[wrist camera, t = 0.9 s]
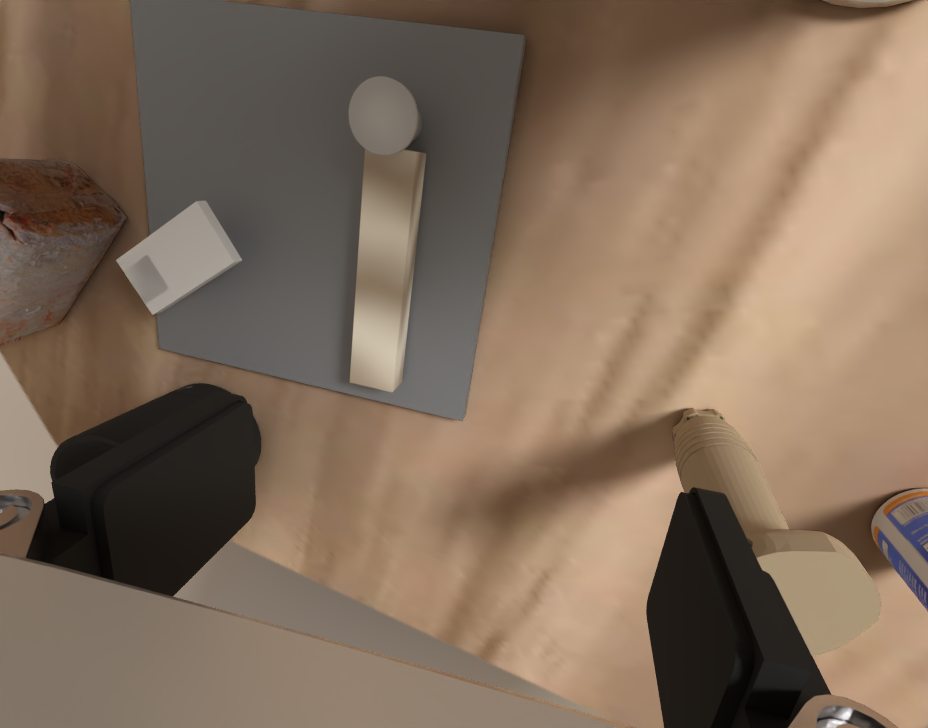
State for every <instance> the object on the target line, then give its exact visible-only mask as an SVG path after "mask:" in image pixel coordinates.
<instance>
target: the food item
mask: <svg viewBox="0 0 928 728" xmlns="http://www.w3.org/2000/svg"><path fill="white" fill-rule="evenodd" d="M126 219H127V217H126V216H125V215H124V213H123V212H122V211H121V210H120V209H119V208H118V207H117V204H116V203H115V201H114V200H113V199H112V198H110V197H109V196H108V195H107V194H105V193H104V192H103V191H102V190H101V189H100V188H99V187H98V186H97V185H96V184H95V183H94V182H93V181H92V180H91V179H90V178H89V177H88V176H87V175H86V174H85V173H84V172H83V171H82V170H81V169H80V168H78V167H77V166H76V165H74V164H73V163H70V162H66V161H62V160H31V159H0V345H3V344H7V343H8V342H9V341H10V340H15V342H16V341H20V340H21V337H22V336H26V335H29V334H32V333H34V332H37V331H40V330H43V329H46V328H49V327H52V326H54V325H57V324H60V323H61V322H62V320H63V319H64V317H65V315H66V314H67V312H68V311H69V309H70V308H71V306H72V305H73V303H74V302H75V300H76V297H77V296H78V294H79V293H80V291H81V290H82V288H83V287H84V286H85V284H86V283H87V281H88V279H89V278H90V276H91V275H92V273H93V272H94V270H95V268H96V267H97V265H98V264H99V262H100V261H101V259H102V258H103V256H104V255H105V253H106V252H107V249H108V248H109V246H110V244H111V243H112V242H113V240H114V237H115V236H116V235H117V233H118V232H119V230H120V229H121V227H122V226H123V223H124V221H125V220H126Z"/></svg>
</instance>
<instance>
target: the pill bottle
mask: <svg viewBox="0 0 928 728" xmlns="http://www.w3.org/2000/svg"><path fill="white" fill-rule="evenodd" d="M871 532H872V536H873V539H874V541H875V543H876V545H877V546H878V548H879V550H880V551H881V552H882V553H883V555H884V556H885V557H886V558H887V560H888V561H889V562H890V564H891V565H892V566H893V567H894V569H895V570H896V571H897V572H898V574H899V575H900V576H901V578H902V579H903V580H904V581H905V583H906V584H907V585H908V586H909V588H910V589H911V590H912V592H913V593H914V594H915V595H916V597H917V598H918V599H919V601H920V602H921V603H922V604H923V606H924V607H925V608H926V609H927V611H928V488H922V489H914V490H909V491H906V492H903V493H900V494H898V495H896V496H894V497H892V498H890V499H889V500H888V501H886V502H885V503H884V504H883V505H882V506H881V507H880V508H879V509H878V510H877V512H876V513H875V515H874V517H873V520H872V524H871Z"/></svg>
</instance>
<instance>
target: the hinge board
mask: <svg viewBox="0 0 928 728" xmlns="http://www.w3.org/2000/svg"><path fill="white" fill-rule="evenodd" d="M130 7H131V19H132V31H133V43H134V55H135V67H136V78H137V90H138V102H139V114H140V126H141V138H142V149H143V161H144V173H145V185H146V197H147V209H148V221H149V232H150V236H148V237H147V238H146V239H144V240H143V241H141V242H140V243H139V244H137V245H136V246H135V247H133V248H132V249H131V250H129V251H128V252H126V253H125V254H124V255H122V256H121V257H120V258H118V259H117V260H116V261H117V263H118V264H119V266H120V267H121V269H122V270H123V272H124V273H125V275H126V276H127V278H128V279H129V281H130V282H131V284H132V285H133V287H134V288H135V290H136V291H137V293H138V294H139V296H140V297H141V299H142V300H143V302H144V303H145V305H146V306H147V308H148V309H149V311H150V312H151V314H152V315H154V314H156V315H157V327H158V339H159V349H163V350H167V351H172V352H176V353H180V354H184V355H188V356H192V357H197V358H201V359H205V360H209V361H213V362H217V363H222V364H226V365H230V366H234V367H238V368H242V369H247V370H251V371H255V372H259V373H263V374H267V375H271V376H276V377H280V378H284V379H288V380H292V381H296V382H301V383H305V384H309V385H313V386H317V387H321V388H326V389H330V390H334V391H338V392H342V393H346V394H351V395H355V396H359V397H363V398H367V399H371V400H376V401H380V402H384V403H388V404H392V405H396V406H400V407H405V408H409V409H413V410H417V411H421V412H425V413H430V414H434V415H438V416H442V417H446V418H450V419H455V420H459V421H463V419H464V417H465V415H466V408H467V402H468V396H469V390H470V384H471V378H472V372H473V365H474V359H475V353H476V347H477V341H478V335H479V329H480V323H481V316H482V310H483V304H484V298H485V292H486V286H487V280H488V273H489V267H490V261H491V255H492V249H493V243H494V237H495V230H496V224H497V218H498V212H499V206H500V200H501V194H502V187H503V181H504V175H505V169H506V163H507V157H508V151H509V145H510V138H511V132H512V126H513V120H514V114H515V108H516V102H517V95H518V89H519V83H520V77H521V71H522V65H523V59H524V52H525V46H526V40H527V39H526V37H525V35H521V34H512V33H503V32H494V31H485V30H477V29H468V28H459V27H450V26H441V25H432V24H423V23H415V22H406V21H397V20H388V19H379V18H370V17H362V16H353V15H344V14H335V13H326V12H317V11H308V10H300V9H291V8H282V7H273V6H264V5H255V4H246V3H238V2H229V1H220V0H130ZM365 149H366V150H368V151H370V152H372V153H375V154H381V155H392V154H396V153H399V152H401V151H403V150H409V151H415V152H422V153H426V162H425V172H424V181H423V190H422V199H421V209H420V218H419V227H418V237H417V246H416V255H415V264H414V274H413V283H412V292H411V302H410V311H409V320H408V329H407V339H406V348H405V357H404V367H403V376H402V383H401V384H400V385H399V386H398V387H397V388H396V389H395V390H394V391H393V392H388V391H384V390H380V389H376V388H372V387H367V386H363V385H359V384H355V383H350V370H351V355H352V339H353V324H354V309H355V294H356V279H357V264H358V248H359V233H360V218H361V203H362V188H363V172H364V157H365Z"/></svg>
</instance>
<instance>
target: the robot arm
mask: <svg viewBox="0 0 928 728" xmlns="http://www.w3.org/2000/svg"><path fill="white" fill-rule="evenodd" d="M823 1H825V2H828V3H830V4H835V5H842V6H848V7H855V8H869V7H886V6H892V5H896V4H900V3H904V2H908V1H913V0H823ZM52 488H53V493H54V499H52V500H51V501H49V502H47V503H46V504H44V499H43V498H42V497H41V496H40V495H39V494H37V493H35V492H32V491H28V490H5V491H0V728H635V727H632V726H629V725H626V724H623V723H620V722H617V721H613V720H610V719H606V718H602V717H599V716H595V715H592V714H588V713H585V712H581V711H578V710H575V709H571V708H568V707H564V706H561V705H558V704H554V703H551V702H548V701H544V700H540V699H537V698H534V697H530V696H527V695H523V694H519V693H516V692H512V691H509V690H506V689H502V688H498V687H495V686H491V685H488V684H484V683H481V682H477V681H474V680H470V679H467V678H463V677H459V676H456V675H453V674H449V673H446V672H442V671H439V670H435V669H432V668H428V667H425V666H421V665H418V664H414V663H411V662H407V661H403V660H400V659H397V658H393V657H390V656H386V655H382V654H379V653H375V652H372V651H368V650H364V649H361V648H357V647H354V646H350V645H347V644H343V643H339V642H336V641H332V640H328V639H325V638H321V637H318V636H314V635H311V634H307V633H303V632H300V631H296V630H293V629H289V628H285V627H281V626H278V625H274V624H271V623H267V622H264V621H260V620H256V619H252V618H249V617H246V616H242V615H239V614H235V613H231V612H228V611H224V610H220V609H216V608H213V607H209V606H205V605H202V604H198V603H194V602H191V601H187V600H183V599H180V598H176V597H173V596H174V595H175V594H176V593H177V592H178V591H179V590H180V589H181V588H182V587H183V586H184V585H185V584H186V583H187V582H188V581H189V580H190V579H191V578H192V577H193V576H194V575H195V574H196V573H197V572H198V571H199V570H200V569H201V568H202V567H203V566H204V565H205V564H206V563H207V562H208V561H209V560H210V559H211V558H212V557H213V556H214V555H215V554H216V553H217V552H218V551H219V550H220V549H221V548H222V547H223V546H224V545H225V544H226V543H227V542H228V541H229V540H230V539H231V538H232V537H233V536H234V535H235V534H236V533H237V532H238V531H239V530H240V529H241V528H242V527H243V526H244V525H245V524H246V523H247V522H248V521H249V520H250V518H251V517H252V515H253V513H254V510H255V506H256V496H255V468H254V441H253V413H252V407H251V405H250V404H247V401H246V399H245V398H244V397H243V396H239V395H235V394H230V393H225V392H219V391H218V392H215V393H213V394H211V395H209V396H207V397H205V398H204V399H202V400H200V401H198V402H196V403H195V404H193V405H191V406H189V407H187V408H185V409H184V410H182V411H180V412H178V413H176V414H175V415H173V416H171V417H169V418H167V419H166V420H164V421H162V422H160V423H158V424H156V425H155V426H153V427H151V428H149V429H147V430H146V431H144V432H142V433H140V434H138V435H137V436H135V437H133V438H131V439H129V440H127V441H126V442H124V443H122V444H120V445H118V446H117V447H115V448H113V449H111V450H109V451H108V452H106V453H104V454H102V455H100V456H98V457H97V458H95V459H93V460H91V461H89V462H88V463H86V464H84V465H82V466H80V467H79V468H77V469H75V470H73V471H71V472H69V473H68V474H66V475H64V476H62V477H60V478H59V479H57V480H55V481H53V482H52ZM647 622H648V628H649V634H650V641H651V647H652V653H653V660H654V666H655V672H656V678H657V685H658V691H659V697H660V703H661V710H662V716H663V722H664V728H898V727H897V726H895V725H894V724H893V723H892V722H890V721H889V720H888V719H887V718H885V717H884V716H882V715H880V714H879V713H877V712H875V711H874V710H872V709H870V708H869V707H867V706H865V705H863V704H860V703H858V702H855V701H853V700H850V699H848V698H845V697H840V696H834V695H831V693H830V691H829V689H828V687H827V685H826V683H825V681H824V679H823V677H822V675H821V673H820V671H819V669H818V667H817V665H816V663H815V661H814V659H813V657H812V655H811V653H810V651H809V649H808V647H807V645H806V643H805V641H804V639H803V637H802V635H801V633H800V631H799V629H798V627H797V625H796V623H795V621H794V619H793V617H792V615H791V613H790V611H789V609H788V607H787V605H786V603H785V601H784V599H783V597H782V595H781V593H780V591H779V589H778V587H777V585H776V583H775V581H774V580H773V578H772V577H771V575H770V574H769V573H767V572H765V571H762V569H761V566H760V564H759V562H758V560H757V558H756V556H755V554H754V552H753V550H752V548H751V546H750V544H749V542H748V540H747V538H746V536H745V533H744V531H743V529H742V527H741V525H740V523H739V521H738V519H737V517H736V515H735V513H734V511H733V509H732V507H731V505H730V502H729V500H728V498H727V496H726V495H725V494H724V493H721V492H716V491H711V490H706V489H701V488H696V487H693V488H691V490H690V491H689V493H684V492H681V493H680V494H679V496H678V499H677V502H676V505H675V509H674V512H673V515H672V519H671V522H670V525H669V529H668V532H667V536H666V539H665V542H664V546H663V549H662V552H661V556H660V559H659V562H658V566H657V569H656V572H655V576H654V579H653V583H652V586H651V589H650V593H649V596H648V600H647Z"/></svg>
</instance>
